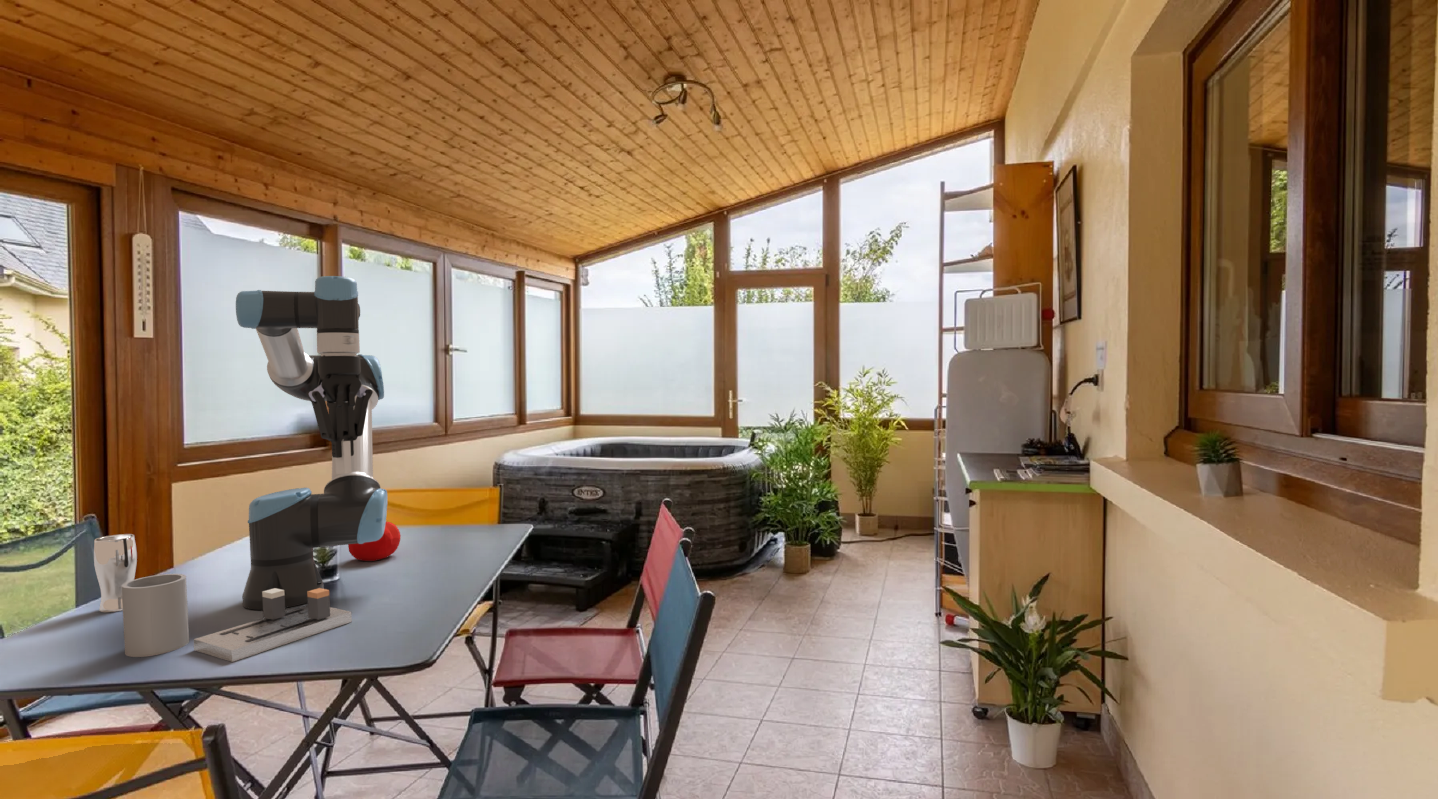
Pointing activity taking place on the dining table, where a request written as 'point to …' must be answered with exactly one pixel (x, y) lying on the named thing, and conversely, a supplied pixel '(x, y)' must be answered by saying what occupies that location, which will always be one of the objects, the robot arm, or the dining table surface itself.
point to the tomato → (377, 545)
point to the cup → (155, 615)
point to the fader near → (318, 603)
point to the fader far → (273, 603)
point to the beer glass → (114, 568)
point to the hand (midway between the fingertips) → (343, 473)
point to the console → (267, 633)
